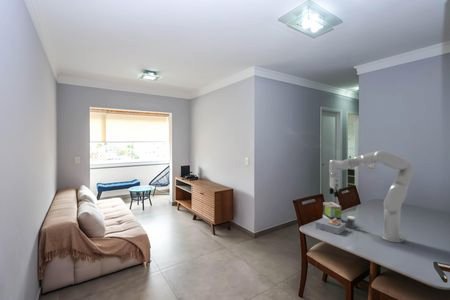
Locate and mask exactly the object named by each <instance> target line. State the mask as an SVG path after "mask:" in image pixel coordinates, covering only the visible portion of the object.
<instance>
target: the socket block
mask: <svg viewBox="0 0 450 300" xmlns="http://www.w3.org/2000/svg"><path fill="white" fill-rule="evenodd" d="M329 221H331V220H330V219H326V218H323V217H322V218H320V219H319V220H316V221H315V228H316V229H318V228H319V229H318V230H321V229H322V231H325V230H326V232H328V231H329V232H328V233H333V234H335V233H336V234H335V235H340V234H342V233H343V232H344V231H345V230H346V228H347V227H346V223H347V222H346V223H345V222H342V221H341V223H340V224H339V225H333V224H329V223H328V222H329ZM337 222H338V221H337Z"/></svg>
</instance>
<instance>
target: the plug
mask: <svg viewBox="0 0 450 300" xmlns="http://www.w3.org/2000/svg"><path fill="white" fill-rule="evenodd" d="M346 221H347V222H346V223H347V227H346V228H347V229H350V230H354V229H355V226H356V225H355V224H356V223H355V221H356V216H352V215H347V217H346Z"/></svg>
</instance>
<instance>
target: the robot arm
mask: <svg viewBox="0 0 450 300" xmlns="http://www.w3.org/2000/svg"><path fill="white" fill-rule="evenodd" d="M378 163H380V164H382V165H384V166H387V167H389V168H392V169H394V170H397V172H396V175H395V177H394V179H393V181H392V184H391V185H390V187H389V189H388V192H387V194H386V196H385V198H384V200H383V203H382V204H383V205H382V206H383V233H382V234H380V237H381V239H383V240H385V241H387V242H391V243H402V242H403V241H406V242H408V240H409V239H408V237H407V236H403V235H402V233H401V214H402V213H401V212H402V211H401V210H402V209H401V208H402V206H403V203H404V201H405V199H406V197H407V194H408V188H409V186H410V183H411V182H412V181H411V180H412V178H413V176H414V167H413V165H412V163H411V162H410V161H409V160H408V159H407V158H406V157H403V156H397V155H395V154H393V153H389V152H388V151H386V150H384V149H379V150H376V151H372V152H368V153H364V154H361V155H358V156H355V157H350V158H347V159H343V160H338V159H330V160H329V164H328V165H329V167H328V173H329V174H328V176H329V194H331V195H333V196H334V197H335V198H338V197H339V195H340V193H339V191H340V189H341V187H340V184H341V183H340V170H342V171H344V170H345V171H346V170H348V169H352V168H355V167H361V166H363V167H364V166H368V165H374V164H378Z"/></svg>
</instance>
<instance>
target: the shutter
mask: <svg viewBox="0 0 450 300" xmlns="http://www.w3.org/2000/svg"><path fill="white" fill-rule="evenodd" d="M341 222H342V221H341ZM341 222H337V218H334V219H332V220H331V221H329V222H328V223H329V224H333V225H339V224H340V223H341Z"/></svg>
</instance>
